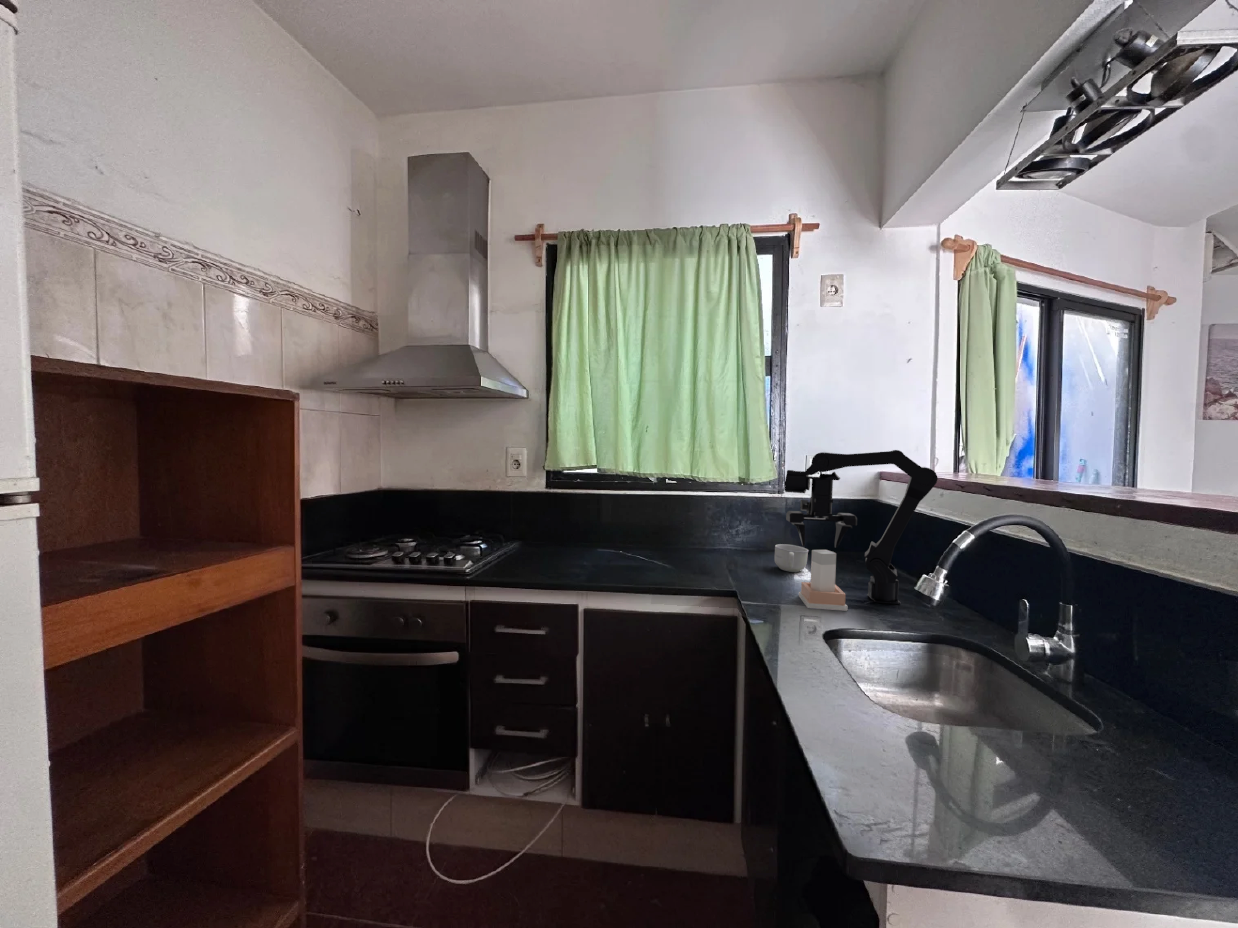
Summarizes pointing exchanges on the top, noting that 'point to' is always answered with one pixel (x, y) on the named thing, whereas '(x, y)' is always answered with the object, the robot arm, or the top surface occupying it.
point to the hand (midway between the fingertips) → (819, 546)
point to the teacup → (790, 557)
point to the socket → (823, 598)
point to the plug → (823, 571)
